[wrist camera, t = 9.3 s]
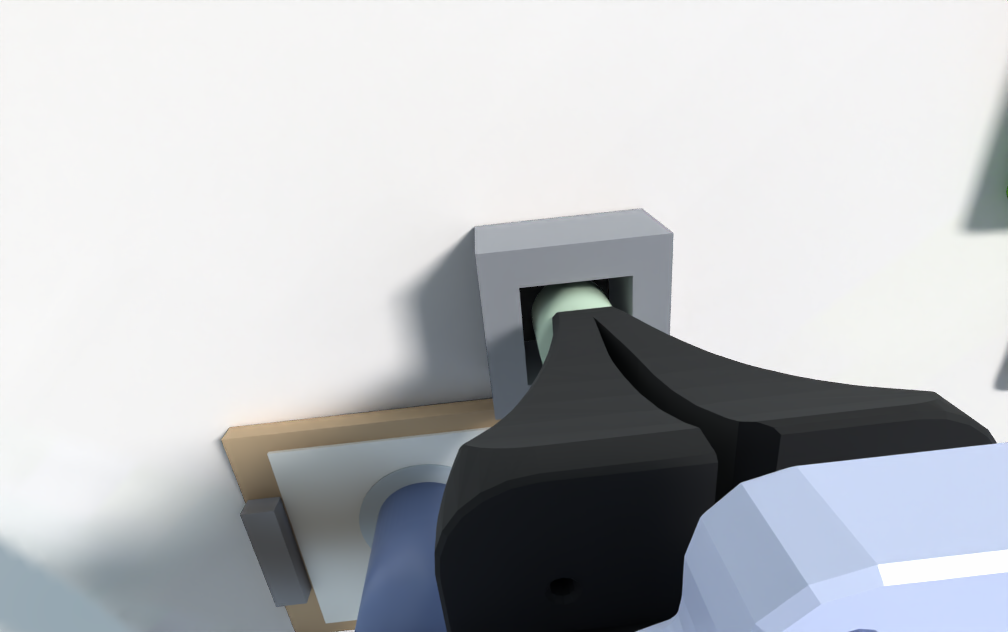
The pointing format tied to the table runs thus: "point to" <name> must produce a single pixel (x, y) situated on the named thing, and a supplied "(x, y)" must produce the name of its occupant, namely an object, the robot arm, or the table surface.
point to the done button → (562, 307)
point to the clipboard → (337, 495)
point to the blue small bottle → (404, 565)
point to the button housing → (565, 281)
